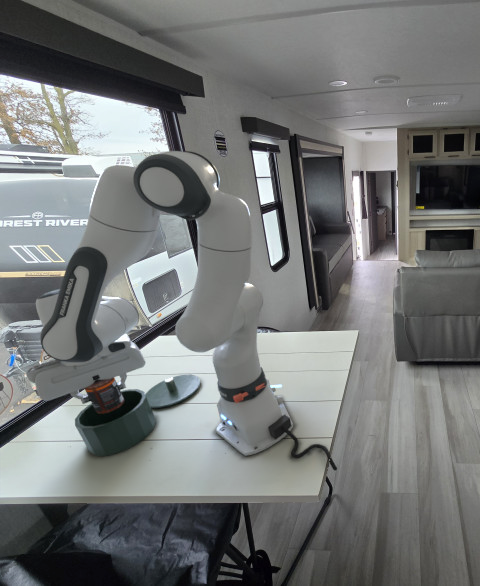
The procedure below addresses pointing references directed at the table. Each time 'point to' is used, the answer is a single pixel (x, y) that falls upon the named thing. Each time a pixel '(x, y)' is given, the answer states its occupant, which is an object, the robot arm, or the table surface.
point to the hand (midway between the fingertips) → (105, 394)
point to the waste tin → (116, 424)
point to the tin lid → (172, 390)
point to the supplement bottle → (104, 395)
